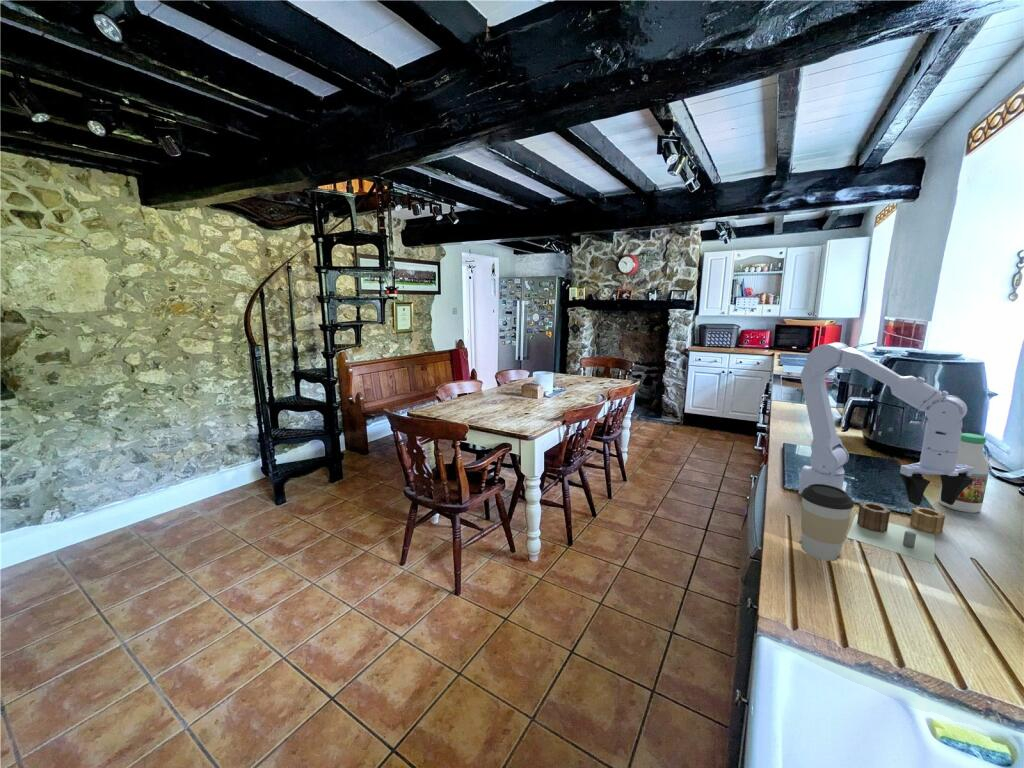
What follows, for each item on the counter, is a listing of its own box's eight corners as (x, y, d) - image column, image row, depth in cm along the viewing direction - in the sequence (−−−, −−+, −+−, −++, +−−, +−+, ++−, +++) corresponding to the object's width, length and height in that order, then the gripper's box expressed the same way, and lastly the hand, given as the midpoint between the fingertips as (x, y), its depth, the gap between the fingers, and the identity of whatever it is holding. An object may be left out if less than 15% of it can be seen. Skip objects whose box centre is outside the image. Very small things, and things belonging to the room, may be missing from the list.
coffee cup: (838, 545, 91) (847, 483, 89) (852, 568, 83) (862, 501, 81) (791, 536, 95) (798, 477, 93) (800, 557, 87) (807, 493, 84)
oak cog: (908, 531, 96) (912, 512, 95) (909, 523, 100) (913, 504, 99) (941, 540, 92) (945, 520, 91) (941, 531, 96) (944, 512, 95)
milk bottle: (929, 500, 111) (942, 431, 107) (955, 499, 111) (968, 430, 108) (963, 514, 103) (977, 440, 100) (989, 512, 104) (1005, 439, 100)
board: (846, 542, 93) (848, 525, 92) (855, 518, 103) (857, 503, 102) (933, 569, 83) (936, 550, 82) (933, 539, 93) (936, 523, 92)
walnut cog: (855, 526, 97) (858, 507, 96) (858, 518, 100) (861, 499, 99) (886, 535, 93) (889, 515, 92) (888, 526, 96) (891, 507, 96)
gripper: (925, 455, 89) (915, 511, 91) (992, 454, 88) (981, 511, 91) (895, 444, 96) (887, 497, 98) (958, 443, 95) (948, 496, 98)
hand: (930, 503), depth 95 cm, fingers open, 7 cm apart
